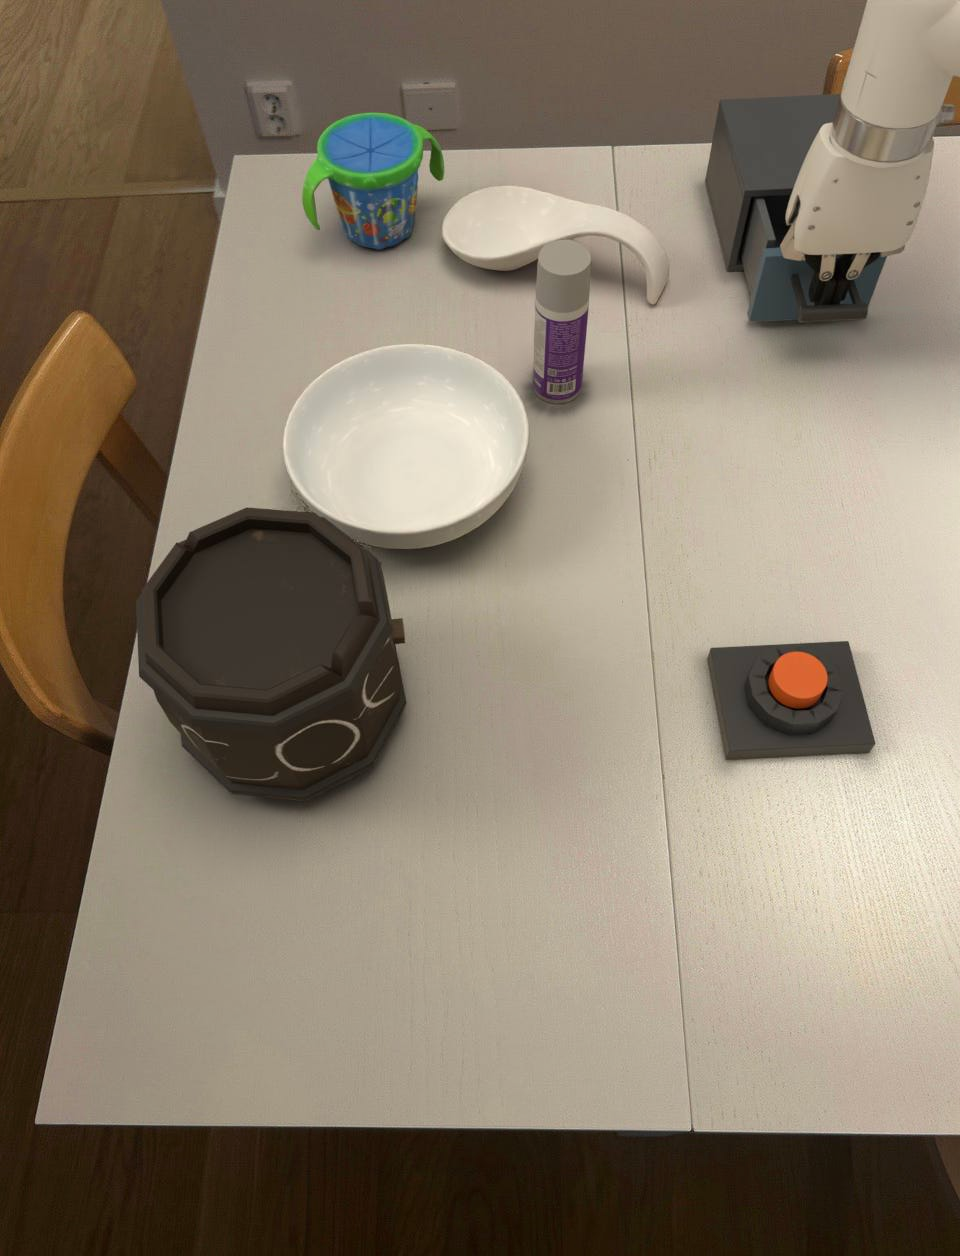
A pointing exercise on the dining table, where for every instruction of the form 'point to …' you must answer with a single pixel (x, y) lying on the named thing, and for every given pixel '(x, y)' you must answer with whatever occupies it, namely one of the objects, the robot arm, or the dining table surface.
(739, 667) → the dark grey button base
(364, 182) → the snack cup
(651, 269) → the spoon rest
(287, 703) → the dark grey faceted cylinder
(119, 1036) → the dining table surface
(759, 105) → the grey cabinet body
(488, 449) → the serving bowl
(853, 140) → the robot arm
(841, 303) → the blue cabinet drawer
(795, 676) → the button
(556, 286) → the container
